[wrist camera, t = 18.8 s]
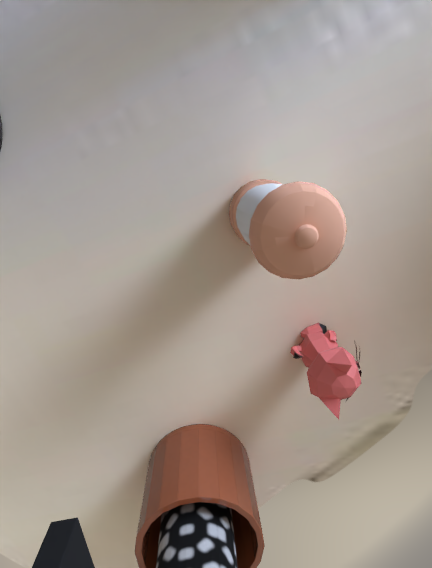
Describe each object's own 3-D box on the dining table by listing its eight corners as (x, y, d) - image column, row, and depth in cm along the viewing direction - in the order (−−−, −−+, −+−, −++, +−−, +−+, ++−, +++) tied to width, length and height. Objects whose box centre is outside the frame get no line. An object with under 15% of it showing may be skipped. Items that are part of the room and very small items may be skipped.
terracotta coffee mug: (139, 433, 50) (121, 510, 38) (241, 416, 50) (254, 486, 39) (167, 540, 55) (159, 635, 44) (259, 524, 55) (276, 615, 44)
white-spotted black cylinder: (175, 503, 52) (162, 692, 33) (158, 454, 50) (134, 627, 31) (233, 489, 52) (254, 671, 33) (219, 439, 50) (233, 604, 30)
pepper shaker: (216, 207, 43) (230, 229, 24) (267, 165, 42) (322, 155, 23) (254, 256, 44) (295, 311, 26) (304, 217, 43) (383, 245, 25)
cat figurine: (329, 368, 49) (371, 427, 37) (278, 363, 48) (303, 422, 37) (341, 317, 47) (388, 363, 35) (287, 312, 46) (317, 356, 35)
